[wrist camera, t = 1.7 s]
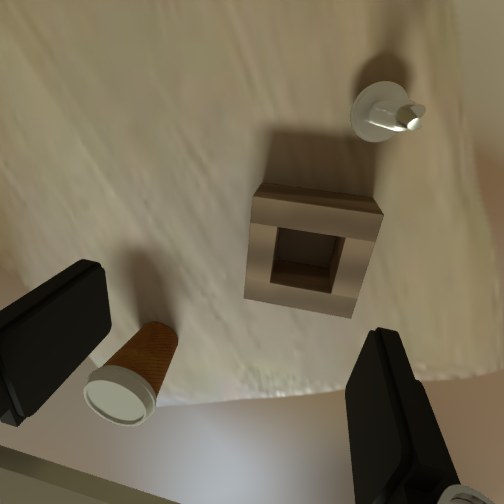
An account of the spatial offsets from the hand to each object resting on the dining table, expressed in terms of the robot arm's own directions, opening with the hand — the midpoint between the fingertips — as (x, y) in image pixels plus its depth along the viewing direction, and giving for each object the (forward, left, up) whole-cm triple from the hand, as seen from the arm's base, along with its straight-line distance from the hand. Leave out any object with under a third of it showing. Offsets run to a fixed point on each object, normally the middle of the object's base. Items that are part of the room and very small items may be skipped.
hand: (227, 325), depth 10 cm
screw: (-7, +7, -25) cm, 27 cm away
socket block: (+7, +3, -24) cm, 26 cm away
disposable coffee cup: (+28, -17, -25) cm, 41 cm away
